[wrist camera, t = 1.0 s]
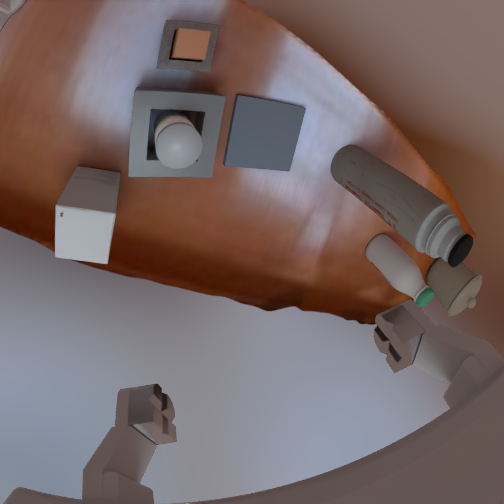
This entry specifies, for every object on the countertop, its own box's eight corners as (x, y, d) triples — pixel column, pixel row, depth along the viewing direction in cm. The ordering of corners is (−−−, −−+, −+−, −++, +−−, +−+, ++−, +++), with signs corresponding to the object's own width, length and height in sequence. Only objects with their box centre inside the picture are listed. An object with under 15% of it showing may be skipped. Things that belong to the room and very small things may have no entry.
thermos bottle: (337, 190, 53) (441, 288, 33) (324, 158, 48) (445, 252, 27) (368, 170, 53) (476, 254, 32) (358, 137, 47) (483, 216, 27)
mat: (236, 94, 37) (237, 95, 36) (302, 107, 41) (305, 108, 40) (223, 163, 43) (224, 166, 42) (286, 169, 47) (289, 171, 46)
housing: (136, 87, 32) (134, 90, 27) (215, 92, 36) (226, 96, 31) (130, 161, 38) (128, 177, 33) (203, 163, 42) (212, 177, 37)
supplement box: (71, 208, 38) (52, 258, 29) (77, 164, 35) (54, 203, 25) (114, 215, 42) (108, 266, 32) (123, 172, 38) (116, 213, 29)
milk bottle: (360, 248, 66) (412, 306, 51) (383, 227, 64) (438, 281, 50) (369, 263, 71) (416, 317, 56) (391, 243, 69) (440, 294, 54)
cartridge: (155, 108, 34) (157, 123, 26) (191, 110, 36) (205, 125, 28) (152, 142, 37) (153, 168, 29) (186, 143, 39) (199, 169, 31)
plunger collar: (164, 25, 27) (166, 19, 24) (211, 29, 30) (219, 25, 26) (156, 68, 31) (157, 68, 27) (203, 71, 33) (209, 72, 30)
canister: (431, 287, 97) (464, 324, 81) (412, 283, 88) (449, 327, 72) (457, 250, 89) (494, 286, 73) (442, 241, 80) (485, 282, 64)
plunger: (175, 33, 27) (179, 28, 22) (201, 36, 28) (210, 31, 24) (170, 58, 29) (173, 56, 24) (196, 60, 30) (205, 59, 26)
